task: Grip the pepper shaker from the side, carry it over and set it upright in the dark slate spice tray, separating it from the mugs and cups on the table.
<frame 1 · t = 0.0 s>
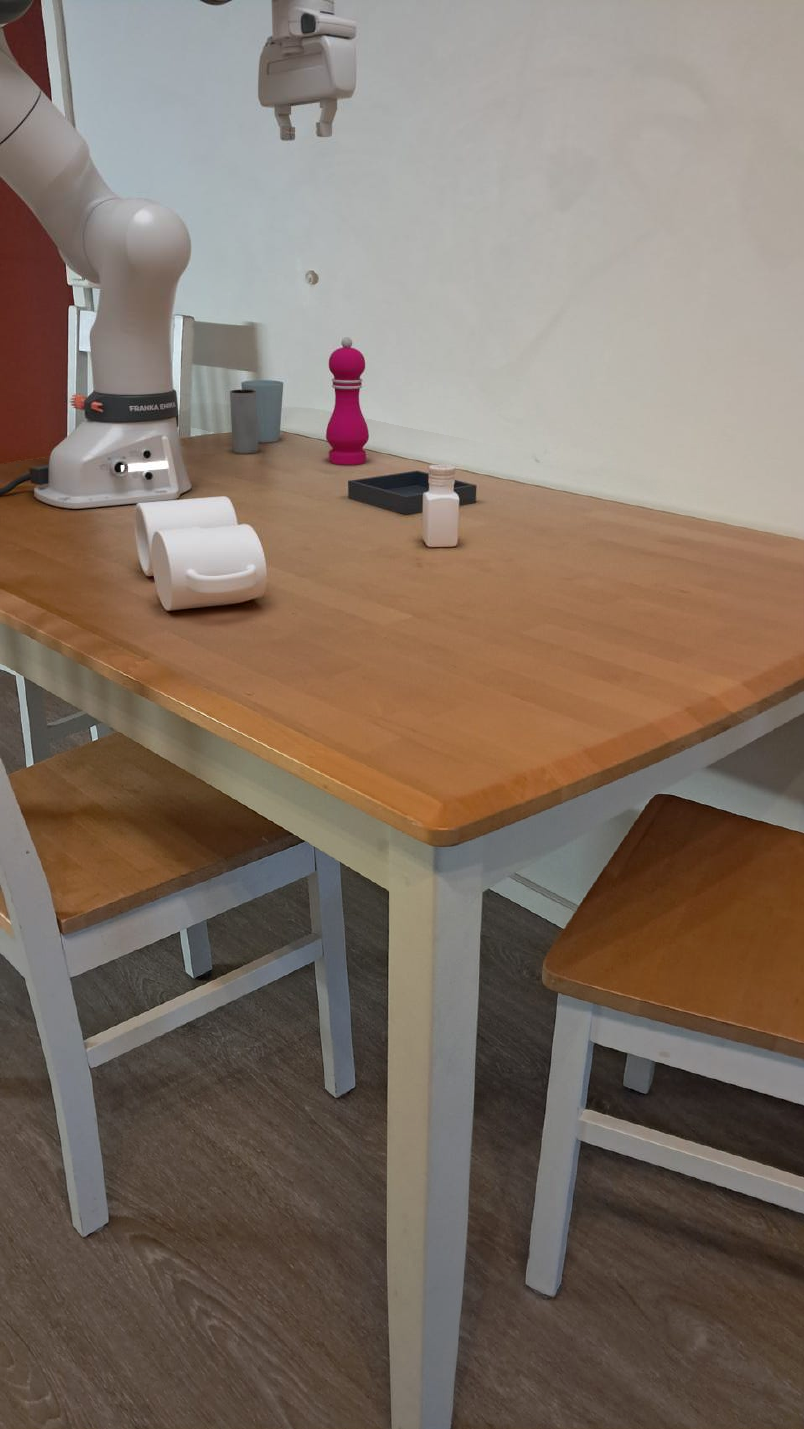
hand: (305, 138, 157), 48 cm above the table, tool pointing down, fingers open, 8 cm apart
mug 2: (213, 609, 108), on the table
cup: (264, 441, 199), on the table
pepper mill: (347, 462, 181), on the table
pepper shaker: (439, 545, 132), on the table
spice tray: (411, 500, 155), on the table
mug: (184, 567, 122), on the table
planter: (245, 452, 188), on the table
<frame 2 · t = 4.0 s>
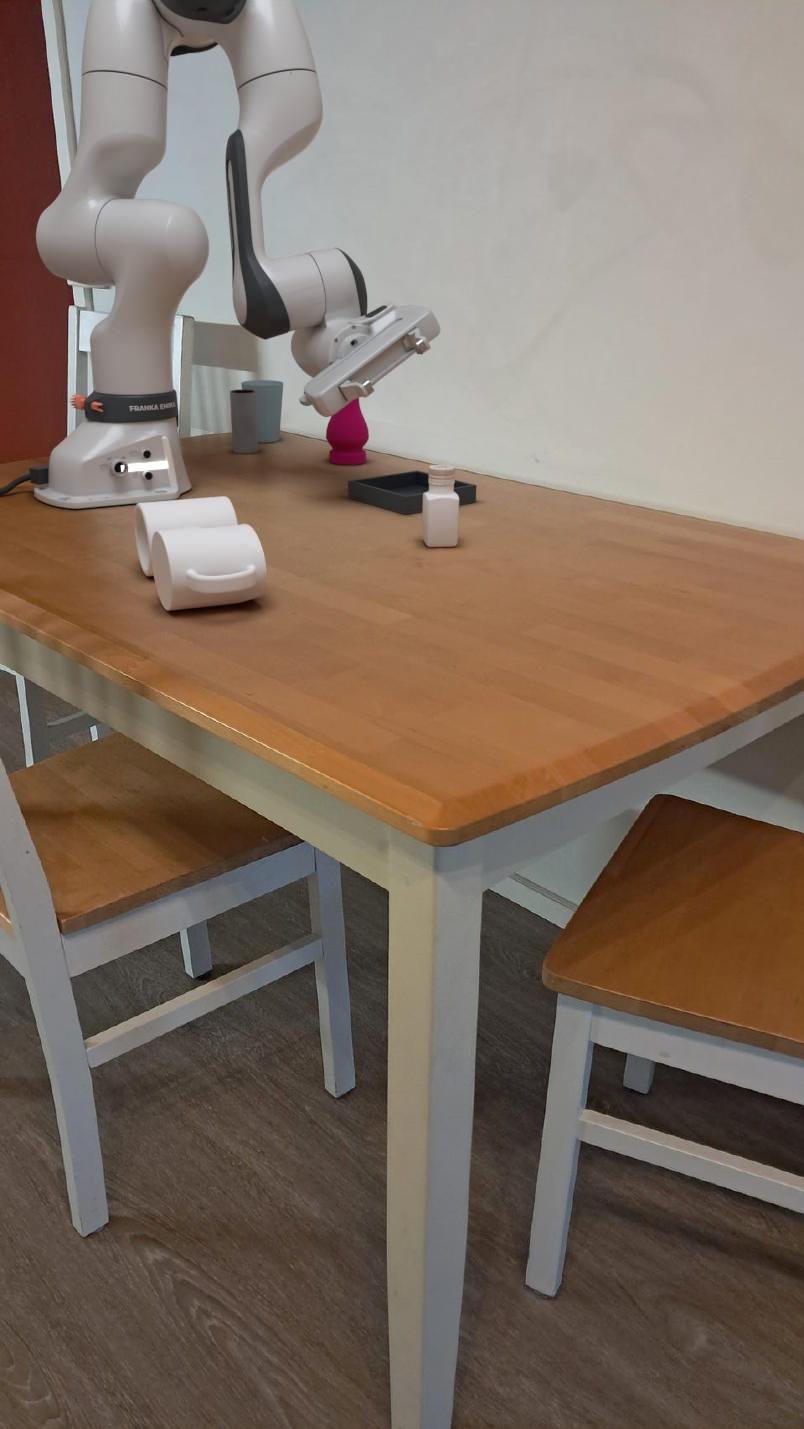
hand: (396, 367, 137), 19 cm above the table, tool horizontal, fingers open, 8 cm apart
nothing on the table moved.
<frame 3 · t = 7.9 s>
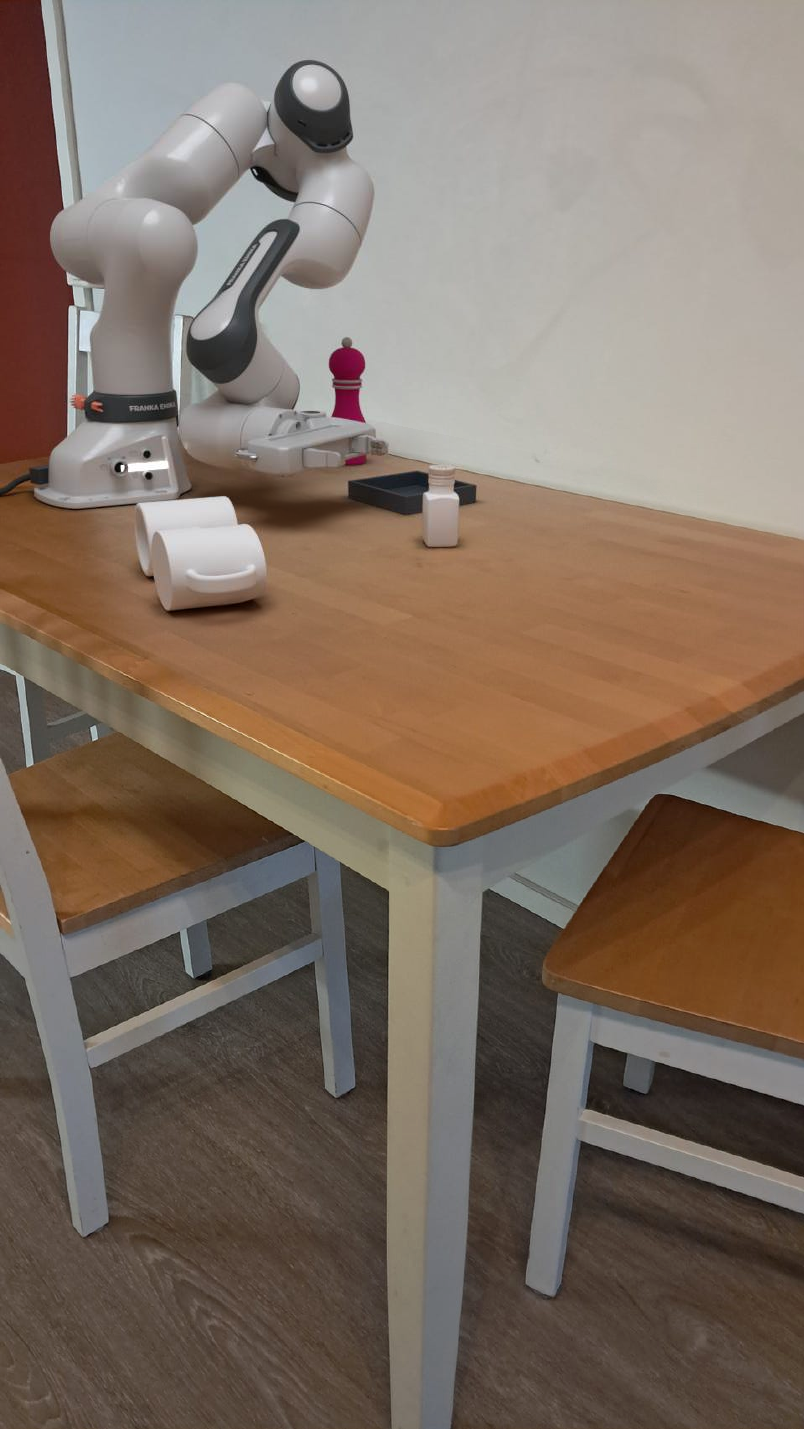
hand: (364, 454, 135), 10 cm above the table, tool horizontal, fingers open, 8 cm apart
nothing on the table moved.
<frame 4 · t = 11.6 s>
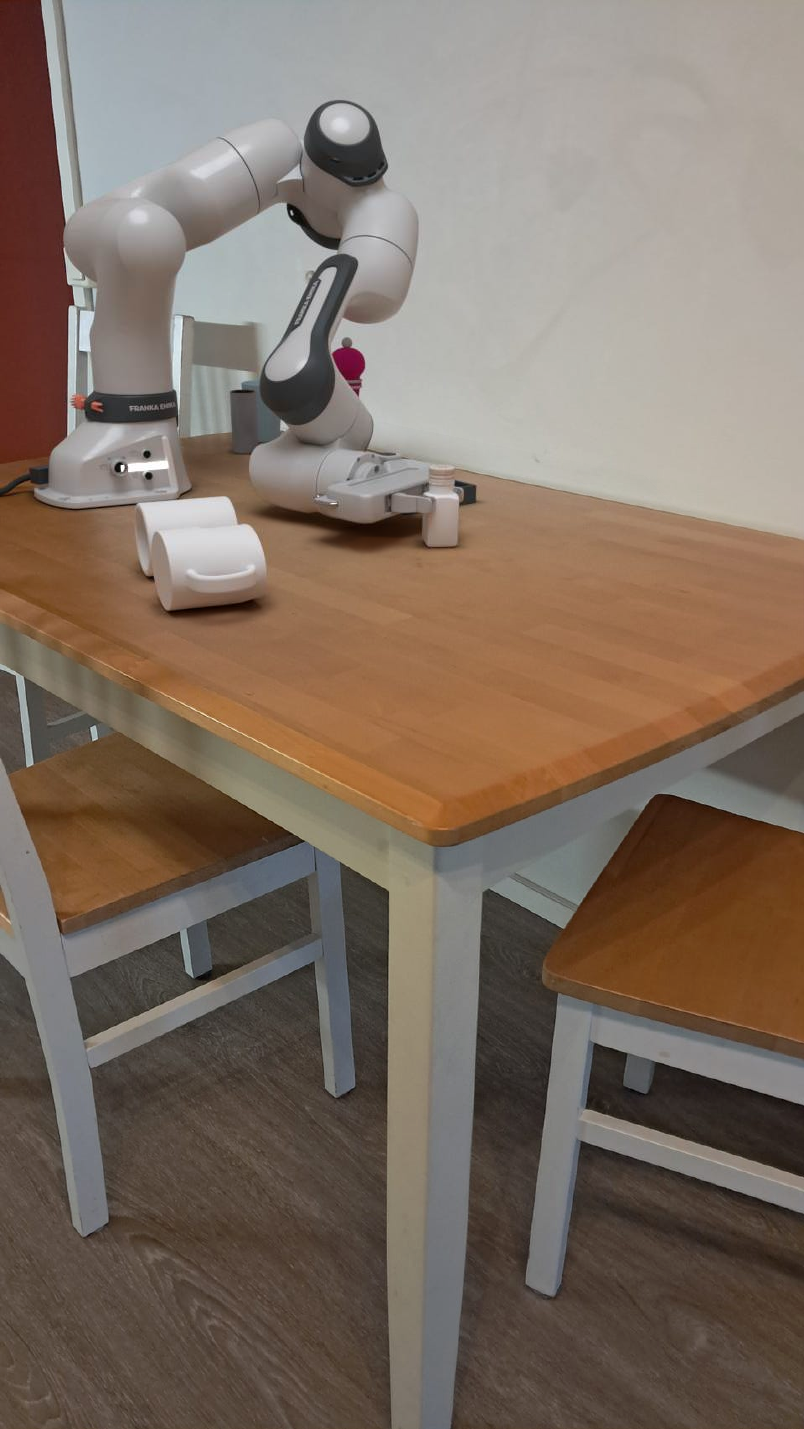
hand: (447, 500, 130), 6 cm above the table, tool horizontal, fingers closed on pepper shaker, 5 cm apart
pepper shaker: (439, 545, 132), on the table, touching gripper
everything else where it was.
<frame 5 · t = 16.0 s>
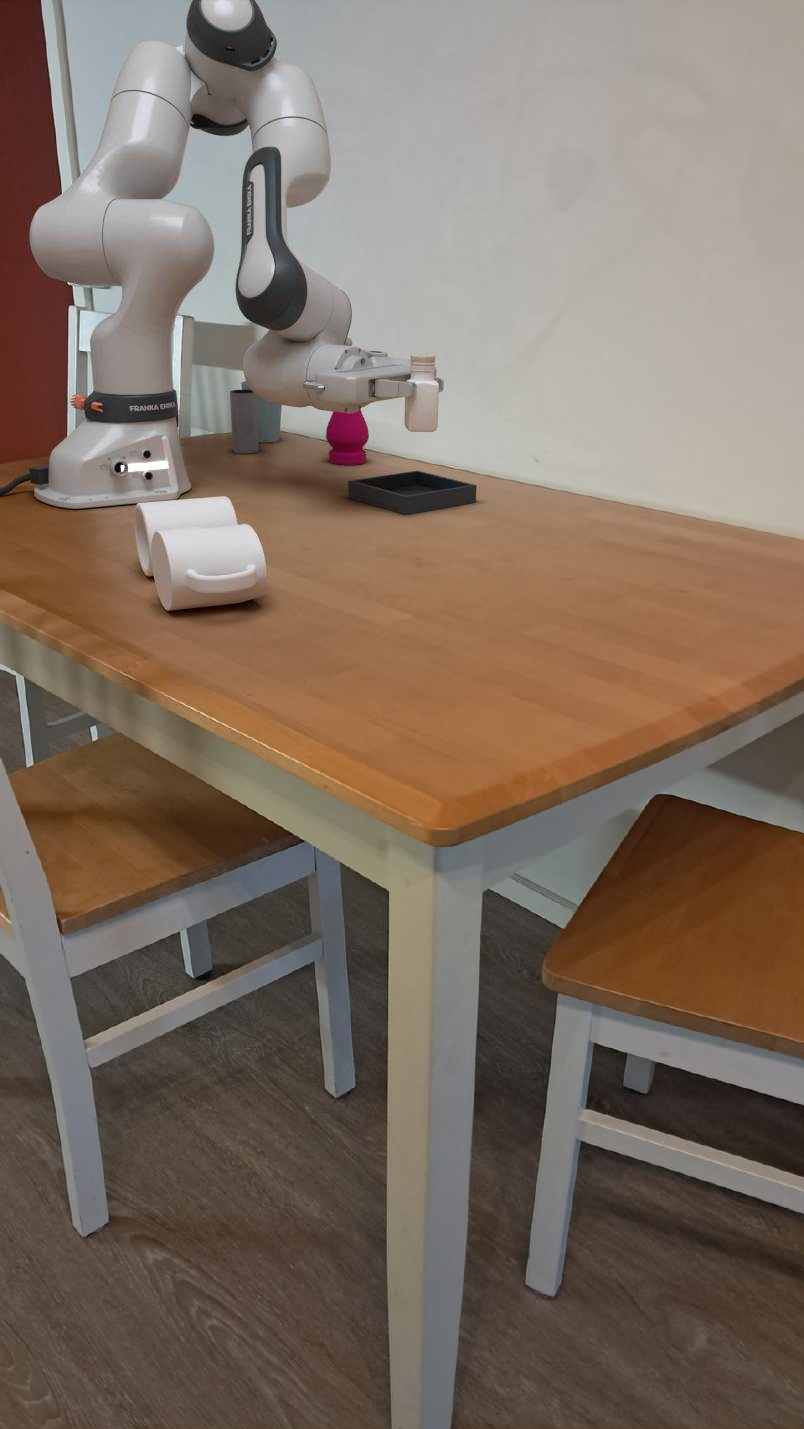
hand: (427, 387, 139), 17 cm above the table, tool horizontal, fingers closed on pepper shaker, 5 cm apart
pepper shaker: (420, 431, 141), point 11 cm above the table, touching gripper
everything else where it was.
when the fingers open (6 cm above the table, at t = 20.6 s): pepper shaker stays where it is, resting on spice tray.
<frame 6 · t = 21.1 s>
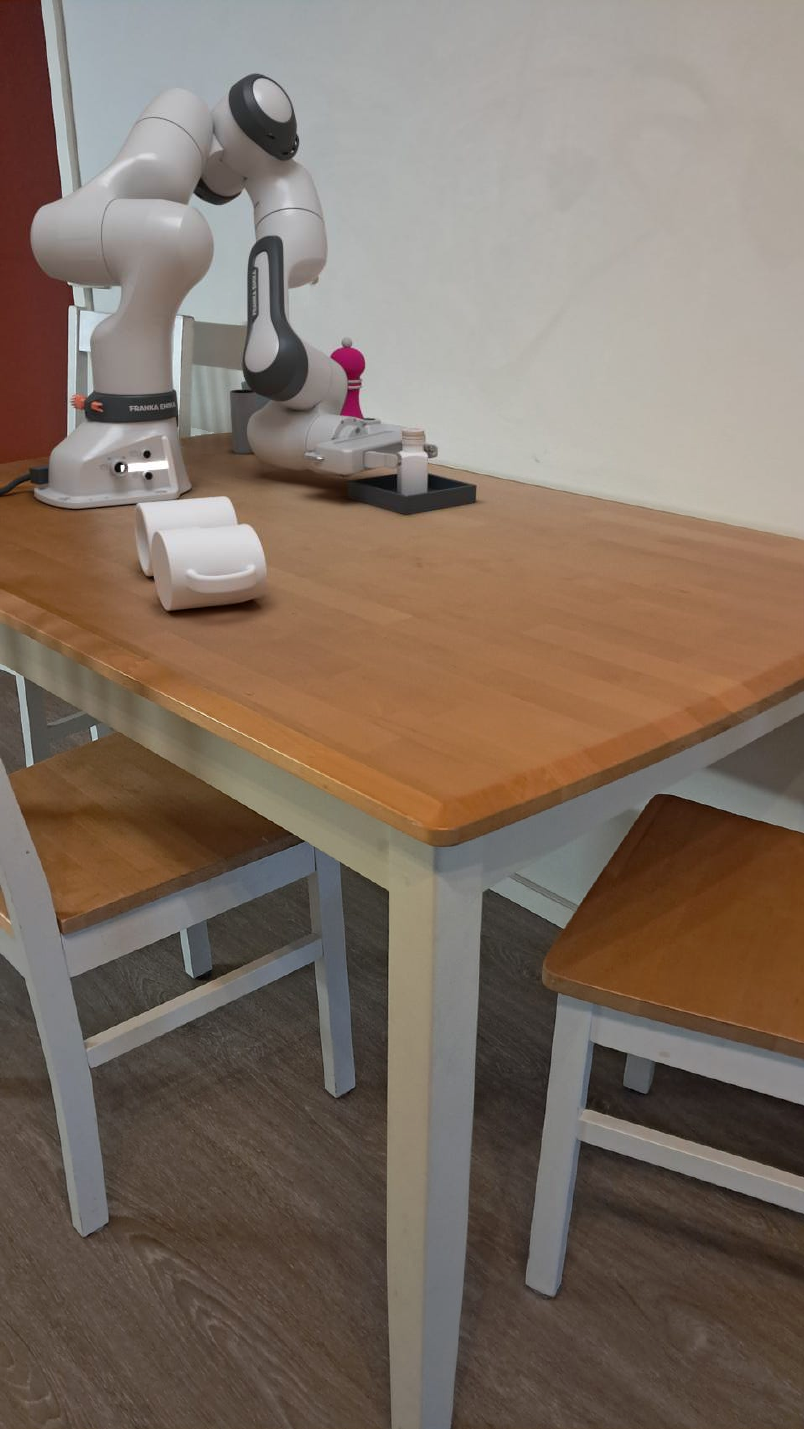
hand: (417, 456, 151), 6 cm above the table, tool horizontal, fingers open, 8 cm apart
pepper shaker: (411, 497, 155), resting on spice tray
everything else where it was.
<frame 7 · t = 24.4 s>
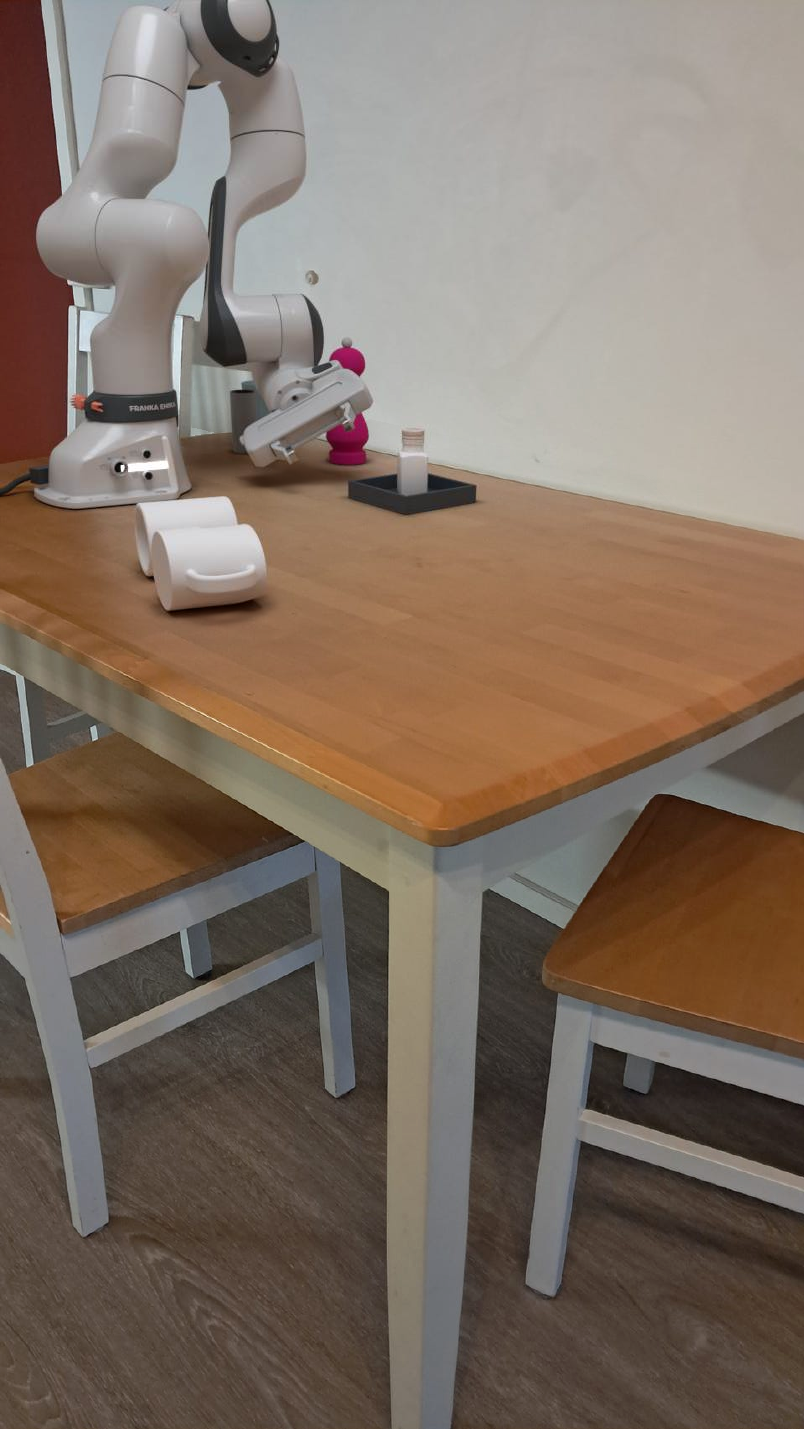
hand: (320, 442, 154), 8 cm above the table, tool tilted 75°, fingers open, 8 cm apart
nothing on the table moved.
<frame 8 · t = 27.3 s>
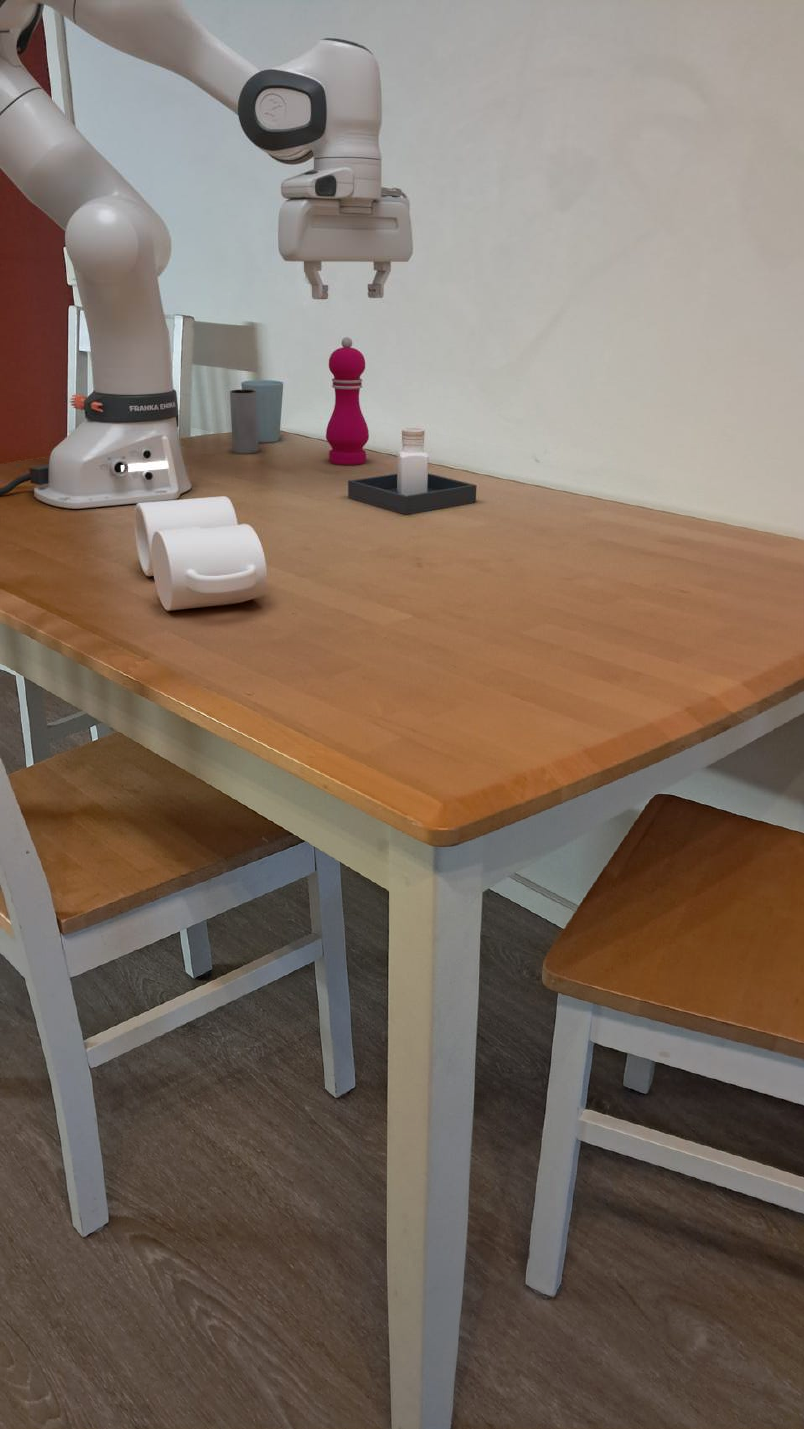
hand: (348, 298, 145), 27 cm above the table, tool pointing down, fingers open, 8 cm apart
nothing on the table moved.
at the end: pepper shaker inside the target area in the spice tray (0.1 cm from its centre), point 0.3 cm above the spice tray's base; pepper shaker tilted 0°; the gripper is holding nothing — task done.
